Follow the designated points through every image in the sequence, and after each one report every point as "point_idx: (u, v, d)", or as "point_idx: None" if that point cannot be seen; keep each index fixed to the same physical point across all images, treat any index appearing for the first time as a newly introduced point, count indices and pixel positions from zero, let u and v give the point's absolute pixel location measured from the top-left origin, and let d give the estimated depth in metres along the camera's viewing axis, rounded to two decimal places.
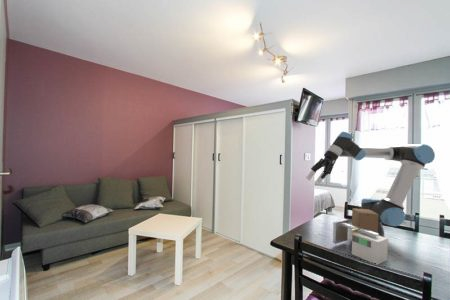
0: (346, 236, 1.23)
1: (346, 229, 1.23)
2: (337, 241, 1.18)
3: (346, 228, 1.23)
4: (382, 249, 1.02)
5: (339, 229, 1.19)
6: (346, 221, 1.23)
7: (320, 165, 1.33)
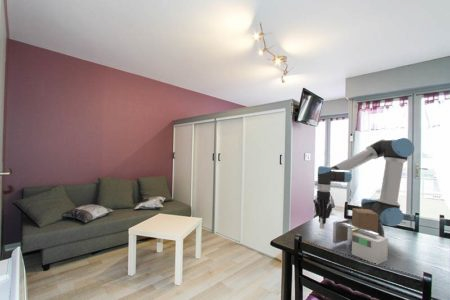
0: (346, 236, 1.23)
1: (346, 229, 1.23)
2: (337, 241, 1.18)
3: (346, 228, 1.23)
4: (382, 249, 1.02)
5: (339, 229, 1.19)
6: (346, 221, 1.23)
7: (321, 207, 1.32)
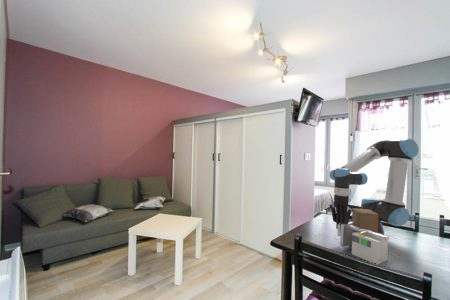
0: None
1: None
2: (345, 244, 1.15)
3: (354, 231, 1.19)
4: (382, 249, 1.02)
5: (347, 231, 1.16)
6: (354, 223, 1.19)
7: (339, 212, 1.22)
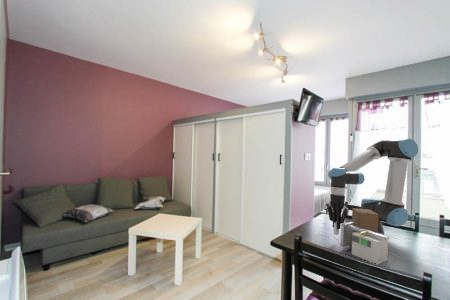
0: None
1: None
2: (345, 244, 1.15)
3: (354, 231, 1.19)
4: (382, 249, 1.02)
5: (347, 232, 1.16)
6: (354, 223, 1.19)
7: (335, 211, 1.24)
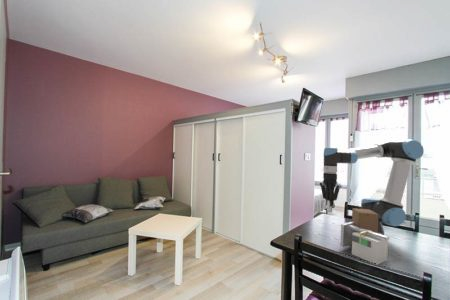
0: None
1: None
2: (345, 244, 1.15)
3: (354, 231, 1.19)
4: (382, 249, 1.02)
5: (347, 232, 1.16)
6: (354, 223, 1.19)
7: (328, 189, 1.29)
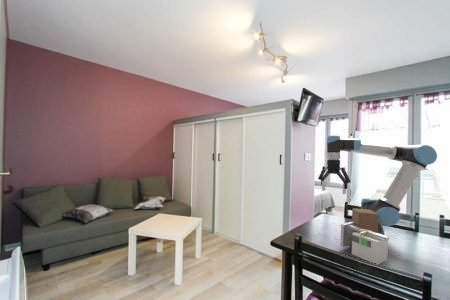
0: None
1: None
2: (345, 244, 1.15)
3: (354, 231, 1.19)
4: (382, 249, 1.02)
5: (347, 232, 1.16)
6: (354, 223, 1.19)
7: (328, 174, 1.38)
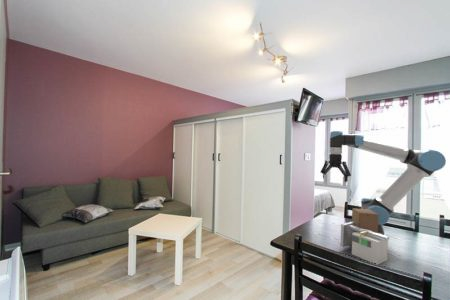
0: None
1: None
2: (345, 244, 1.15)
3: (354, 231, 1.19)
4: (382, 249, 1.02)
5: (347, 232, 1.16)
6: (354, 223, 1.19)
7: (330, 167, 1.45)
